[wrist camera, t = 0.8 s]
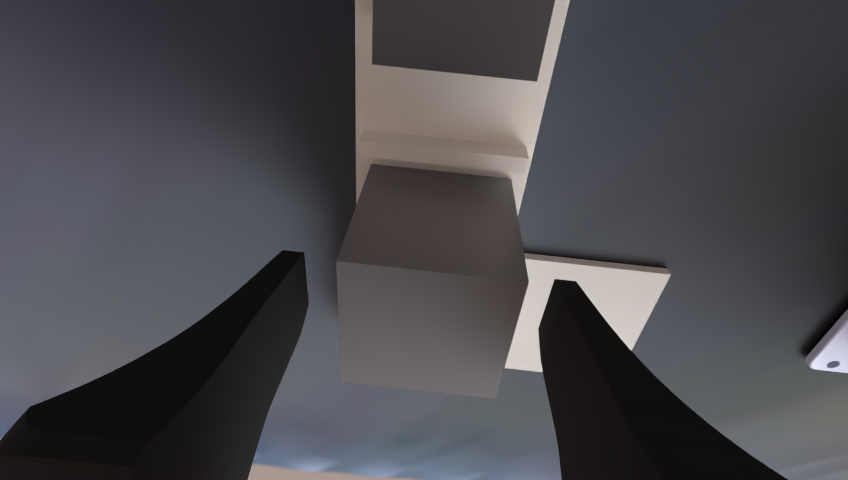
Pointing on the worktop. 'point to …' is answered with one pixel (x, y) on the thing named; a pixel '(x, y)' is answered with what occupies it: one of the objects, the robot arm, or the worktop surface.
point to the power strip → (453, 84)
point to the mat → (603, 284)
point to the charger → (430, 282)
